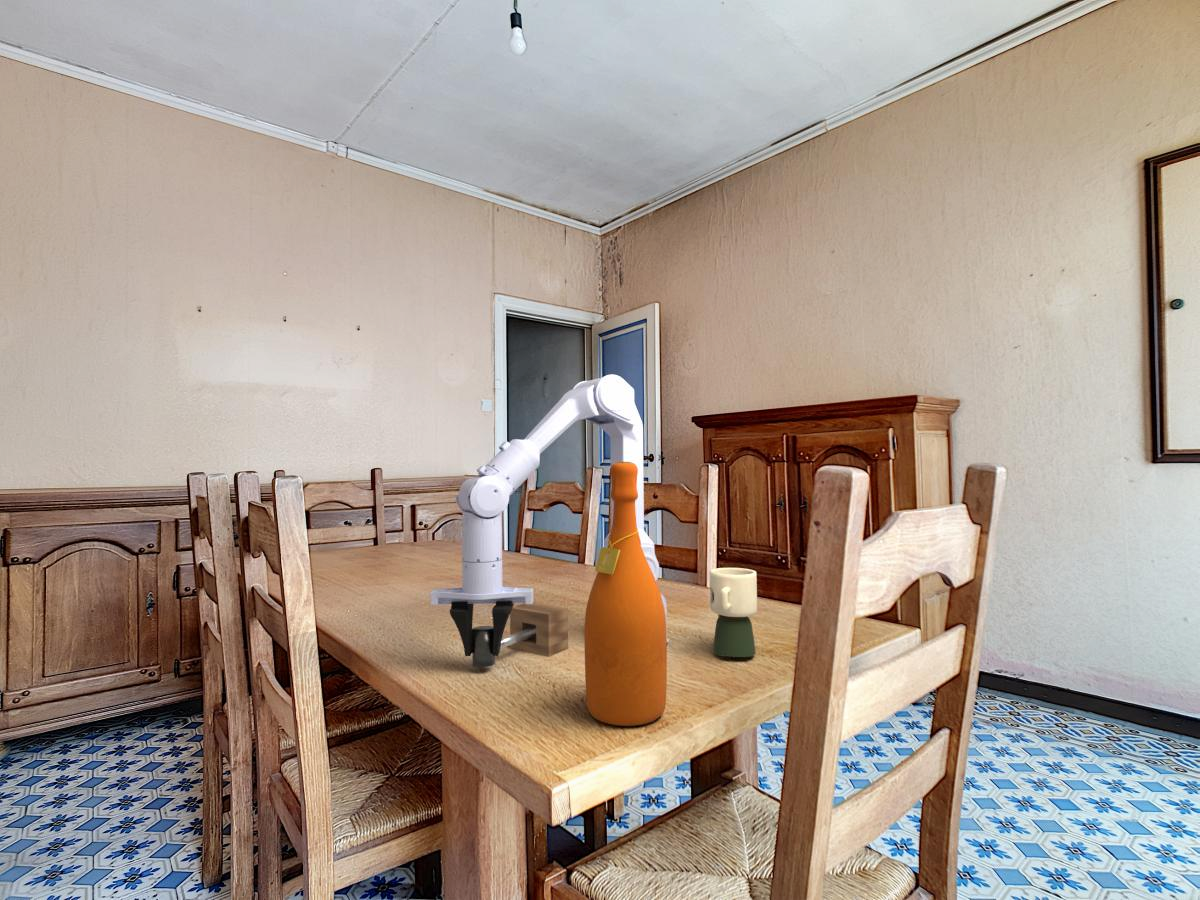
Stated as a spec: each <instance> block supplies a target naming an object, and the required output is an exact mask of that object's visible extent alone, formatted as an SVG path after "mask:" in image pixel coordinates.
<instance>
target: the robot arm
mask: <svg viewBox="0 0 1200 900" xmlns="http://www.w3.org/2000/svg"><path fill="white" fill-rule="evenodd" d="M581 420H585V421H588V422H591V423H593V424H595V425H597V426H598V427H600V429H601V430H603V432H605V433H606V434H607V435H608V436H609V438H610V445H609V447H610V466H611V465H613V464H614V463H616V462H632V463H634V464H635V465H636V466H637V468H638V474H637V492H638V498H637V499H636V500H635V511H636V524H637V528H638V532H639V537H640V540H641V547H642V550H643V552H644V555H645V557H646V560H647V562H648V564H649V566H650V569H651V571H652V573H653V575H654V578H655V580H656V582H657V581H658V579H659V576H660V564H659V561H658V559H657V556H656V553H655V552H656V551H655V544H654V541H653V540H652V539H651V538H650V537H649V535H648V534H647V533H646V531H645V514H644V513H645V507H644V506H645V502H644V501H645V498H644V497H645V496H644V495H645V494H644V492H645V491H644V490H645V489H644V488H645V486H644V479H645V478H644V424H643V421H642V419H641V416H640V413H639V411H638V409H637V406H636V403H635V389H634V388H633V386H631V385H630V384H629V383H628V382H627V381H626V380H625V379H624V378H623V377H621V376H619V375H617V374H607V375H605V376H602V377H599V378H595V379H591V380H584V381H583V380H582V381H580V382H577V383H576V384H575V385H574V386H573V388H572V389H570V390H568V391H566V393H564V394H563V395H562V397H561V398H560V399H559V401H557V403H556V404H555V405H554V406H553V407H552V408H551V409H550V411H548V412H547V414H546V415H545V416H544V417H543V418H542V419H541V420H540V421H539V422H538V423H537V424H536V425H535V426H534V428H533V429H532V430H531V431H530V432H529V433H528V434H527V435H526V436H525V438H524V439H518V438H515V439H511V440H510V441H503V442H502V443H501V444H500V445H498V449H499V452H498V453H496V455H495V456H493V458H492V459H491V460H490V461H488V462H487V463H486V464H485V465H480V466H479V467H478V468H477V469H476V472H477V473H478V476H473V477H470V478H468V479H466V480H465V481H464V482H463V483H462V484H461V485H460V487H459V492H458V494H457V495H455V501H456V505H457V506H458V509H460V511H461V512H462V522H461V523H462V528H461V564H462V565H461V567H462V568H461V569H462V570H461V572H462V573H461V575H462V577H461V579H462V580H461V583H462V584H461V586H462V587H453V588H449V587H448V588H434V589H433V590H431V591H430V606H439V605H450V609H449V615H450V617H451V619H452V620H453V622H454V624H455V626H456V629H457V631H458V633H459V636H460V638H461V642H462V646H463V650H464V656H465V657H471V656H472V629H473V621H474V620H473V619H474V618H473V616H474V605H478V604H479V605H481V604H484V605H485V604H495V605H494V606H493V607H492V608H491V613H492V614H491V615H492V627H493V632H494V636H493V656H495V657H499V655H500V653H501V649H500V647H501V641H502V638H503V637H504V636H503V635H504V631H505V629H506V626H507V622H508V621H509V618H510V612H511V610H512V608H513V607H514V606H515V604H524V603H525V604H532V603H533V602H534V588H533V587H532V588H531V587H530V588H529V587H512V586H503V521H502V520H503V519H502V518H503V514H502V513H503V512H504V511H505V510H506V509H507V508H508V506H509V505H508V504H509V502H510V496H512V494H514V493H515V491H517V490H518V488H519V487H520V486H522V484H523V483H524V482H525V481H527V480H528V479H529V477H530V476H531V475H532V474H533V473H534V472H535V471H536V470H537V469H538V468H539V466H540V460H541V459H540V457H541V454H542V452H543V453H544V451H545V450H546V449H547V448H548V447H549V446H550V445H551V444H553V443H554V442H555V440H557V439H558V438H559V437H560V436H562V434H563V433H564V432H565V431H566V430H568V429H569V427H571V426H572V425H573V424H574V423H575V422H577V421H581ZM611 489H612V483H611V482H610V490H611ZM613 510H614V501H613V500H612V498H611V497H610V531H609V533H608V534H607V535H606V536H605V538H604V540H603V547H606V548H608V545H609V544H608V540H609V539H608V537H610V536H609V535H610V533H611V529H612V524H613ZM660 594H661V597H662V601H663V605H664V609H665V616H666V630H667V631H668V605H667V604H668V603H667V601H666V597H665V596H664V595H663V594H662V593H660ZM669 642H670V639H669V638H667V644H668V643H669Z"/></svg>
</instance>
